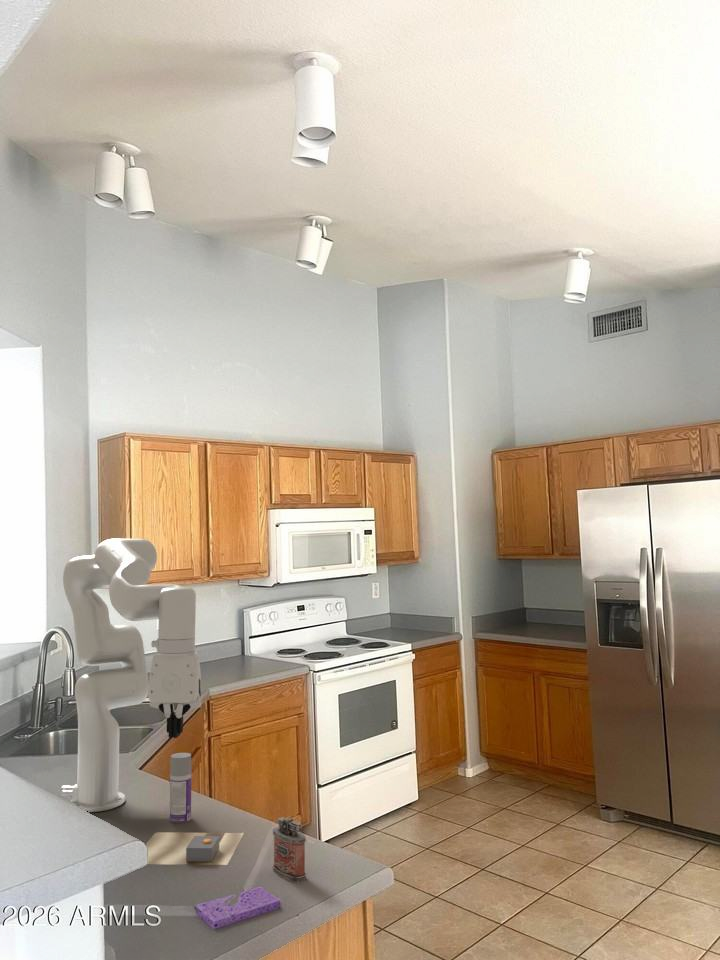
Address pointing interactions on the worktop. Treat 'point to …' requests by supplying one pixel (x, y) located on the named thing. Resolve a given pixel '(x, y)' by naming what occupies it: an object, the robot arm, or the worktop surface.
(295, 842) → the lighter
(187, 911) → the worktop surface
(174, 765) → the container
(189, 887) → the worktop surface
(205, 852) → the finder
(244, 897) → the sponges
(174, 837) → the board
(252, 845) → the worktop surface
